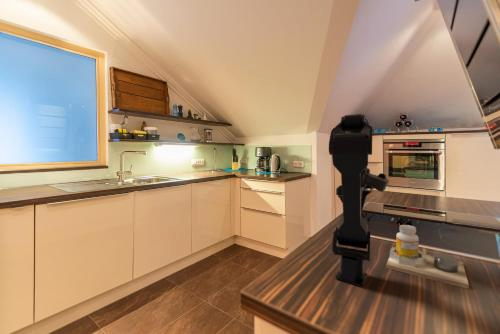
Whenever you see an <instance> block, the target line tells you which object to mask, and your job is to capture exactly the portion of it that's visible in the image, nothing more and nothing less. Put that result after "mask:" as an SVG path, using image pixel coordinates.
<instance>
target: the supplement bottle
mask: <svg viewBox="0 0 500 334" xmlns="http://www.w3.org/2000/svg"><path fill="white" fill-rule="evenodd" d="M416 233H417V227H415V225H414V226H413V225H409V224H401V225H399V232H397V233H396V239H395V240H396V243H395V245H396V246H395V247H396V253H397V254H399V255H401V256H405V257H409V258H418V251H419V247H420V246H419V241H420V239H419V236H418V235H417V234H416Z"/></svg>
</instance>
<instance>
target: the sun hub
mask: <svg viewBox="0 0 500 334" xmlns="http://www.w3.org/2000/svg"><path fill="white" fill-rule="evenodd" d="M433 256H434V267H435V268H437V269H439V270H441V271H444V272H449V273H456V272H458V261H459V258H457V257H456V256H453V255H451V254H447V253H440V252H438V253H434V254H433Z"/></svg>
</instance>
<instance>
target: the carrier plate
mask: <svg viewBox="0 0 500 334" xmlns="http://www.w3.org/2000/svg"><path fill="white" fill-rule="evenodd" d="M385 264H386V265H385V266H386V269H389V270H393V271H397V272H401V273H405V274H408V275H412V276H416V277H420V278H424V279H428V280H431V281H435V282H440V283H444V284H447V285H452V286H455V287H459V288H463V289H467V290H468V289H469V286H470V284H469V280H468V278H467V273H466V271H465V267H464V263H463V261H459V260H458V272H456V273H449V272H444V271H441V270H439V269H437V268H435V267H434V255H429V254H426V266H422V267H411V266H407V265H403V264H399V263H397V262H396V261H394V260H392V259H391V258H390V256H388V259H387V262H386V263H385Z"/></svg>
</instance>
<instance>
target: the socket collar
mask: <svg viewBox="0 0 500 334" xmlns="http://www.w3.org/2000/svg"><path fill="white" fill-rule="evenodd" d="M426 255H427V254H426V253H424V252H423V251H421V250H418V258H409V257H405V256H401V255H399V254H397V253H396V246H395V247H393V246H392V247H391V248H390V250H389V257H390V258H391V259H392V260H394V261H396V262H397V263H399V264H403V265H407V266H411V267H422V266H426Z"/></svg>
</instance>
